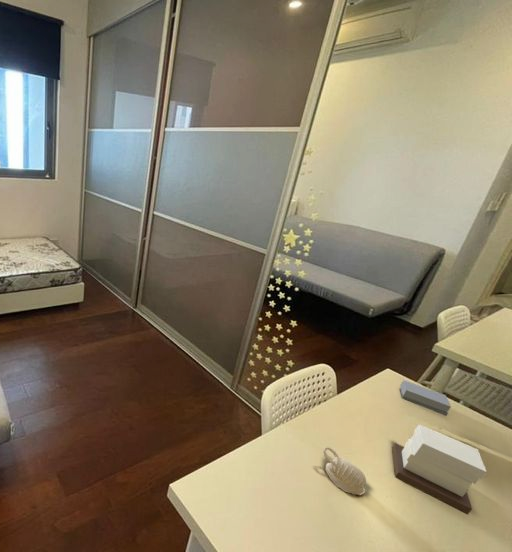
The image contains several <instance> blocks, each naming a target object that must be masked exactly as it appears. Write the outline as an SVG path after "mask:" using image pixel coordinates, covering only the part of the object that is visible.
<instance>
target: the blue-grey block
mask: <svg viewBox="0 0 512 552" xmlns="http://www.w3.org/2000/svg"><path fill="white" fill-rule="evenodd" d="M399 387H400V395H401V399H404V400H406V401H408V402H410V403H413V404H415V405H418V406H421V407H423V408H425V409H428V410H431V411H433V412H435V413H438V414H440V415H443V416H446V417H447V415H448V414H449V412H448V411H449V410H450V409H451V408H452V406H451V403H450V401H449V399H448V397H447V395H446V394H443V393H441V392H438V391H435V390H432V389H429V388H427V387H424V386H421V385H419V384H416V383H413V382H410V381H407V380H405V379H402V381H401V383H400V385H399Z"/></svg>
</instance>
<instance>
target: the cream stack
mask: <svg viewBox="0 0 512 552" xmlns="http://www.w3.org/2000/svg"><path fill="white" fill-rule="evenodd" d="M391 448H392V449H391V451H392V459H393V460H392V461H393V468H394V469H393V470H394V477H395V478H396V479H399V480H400V481H402V482H405V483H406V484H408V485H410V486H412V487H414V488H416V489H418V490H420V491H422V492H424V493H426V494H428V495H429V496H432V497H434V498H436V499H437V500H439V501H442V502H443V503H446V504H447V505H449V506H451V507H454V508H455V509H457V510H459V511H461V512H463V513H465V514H469V513H471V511H472V510H473V508H472V504H471V500H470V498H469V495H468V491H469V488H470V487H471V486H472V484H474V485H476V484H477V482H479V480H481V479H480V478H477V477H475V476H473V475H471V474H469V473H467V472H464V471H462V470H460V469H458V468H456V467H454V466H451V465H449V464H447V463H445V462H443V461H441V460H438V459H436V458H434V457H432V456H430V455H428V454H425V453H423V452H421V451H419V450H418V447H417V442H416V437H415V433H413V435H412V437H411V438H410V437H409V438H408V440H407V441H406V442H405V444H404V446H403V445H400V444H398V443H396V442H394V443H393V445H392V446H391Z"/></svg>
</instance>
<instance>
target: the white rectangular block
mask: <svg viewBox="0 0 512 552" xmlns="http://www.w3.org/2000/svg"><path fill="white" fill-rule="evenodd" d="M413 433H414V434H415V437H416V442H417V447H418V450H419V451H421V452H423V453H425V454H428V455H430V456H432V457H434V458H436V459H438V460H441V461H443V462H445V463H447V464H449V465H451V466H454V467H456V468H458V469H460V470H462V471H464V472H467V473H469V474H471V475H473V476H475V477H477V478H480V479H479V480H481V479H482V478H483V477H484V476H485V475H486V474H487V472H488V471H487V468H486V465H485V463H484V461H483V459H482V455H481V454H480V451H479V449H478V448H475V447H473V446H471V445H468V444H467V443H464V442H461V441H459V440H457V439H454V438H452V437H450V436H447V435H445V434H443V433H440V432H438V431H436V430H434V429H431V428H429V427H426V426H424V425H422V424H417V426H416V428H414V430H413Z"/></svg>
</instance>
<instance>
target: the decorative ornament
mask: <svg viewBox="0 0 512 552" xmlns="http://www.w3.org/2000/svg"><path fill="white" fill-rule="evenodd" d="M327 450H328V451H329V452H331V453H332V454H333V456H334V458H332V459H331V458H330V456H329V455H328V454H327ZM322 453H323V456H324V457H325V459H326V460H327V461H328V462H327V463H326V464H325V472H326V474H327V476H328V477H329V479H330V481H332V483H333V484H334V485H335V486H336V487H338V488H339V489H341V490H342V491H343V492H344V493H349V494H352V495H358V496H362V495H364V494H365V493H366V488H365V485H366V482H367V479H366V475H365V474H364V472H363V471H362V470H361V469H360V468H359V467H357V465H355V464H354V463H352V462H350V461H349V460H347V459H345V458H343V457H339V455H338V453H337V452H336V451H335V450H334V449H333V448H331V447H329V446H324V447H323V449H322Z"/></svg>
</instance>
